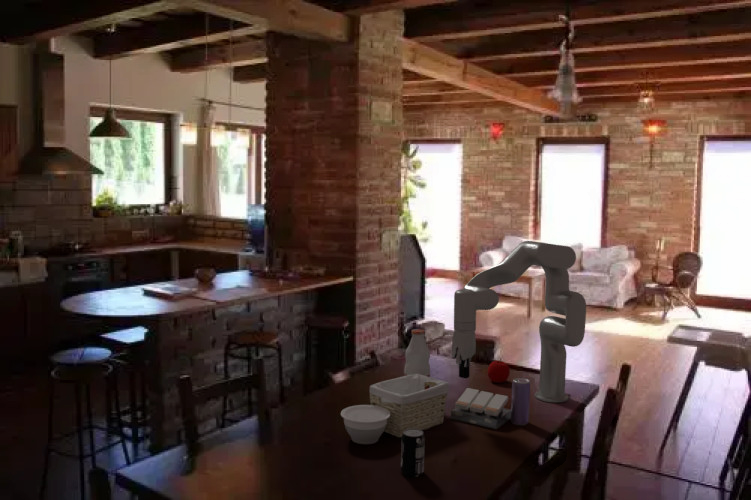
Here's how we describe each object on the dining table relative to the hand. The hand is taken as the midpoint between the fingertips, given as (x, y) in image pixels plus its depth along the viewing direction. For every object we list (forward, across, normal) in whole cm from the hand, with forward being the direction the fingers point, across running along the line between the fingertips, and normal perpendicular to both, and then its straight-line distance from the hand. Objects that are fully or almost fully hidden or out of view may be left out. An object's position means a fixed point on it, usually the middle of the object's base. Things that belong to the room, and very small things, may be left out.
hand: (464, 377), depth 237 cm
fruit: (+16, -47, -7) cm, 51 cm away
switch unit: (+15, -3, +5) cm, 16 cm away
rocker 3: (+9, -4, +11) cm, 14 cm away
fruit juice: (+15, -2, -20) cm, 25 cm away
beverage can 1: (+14, +49, +8) cm, 51 cm away
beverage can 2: (+15, -7, +18) cm, 24 cm away
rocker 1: (+9, -4, 0) cm, 9 cm away
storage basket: (+15, +17, -12) cm, 26 cm away
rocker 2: (+9, -4, +5) cm, 11 cm away
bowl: (+14, +36, -17) cm, 42 cm away
